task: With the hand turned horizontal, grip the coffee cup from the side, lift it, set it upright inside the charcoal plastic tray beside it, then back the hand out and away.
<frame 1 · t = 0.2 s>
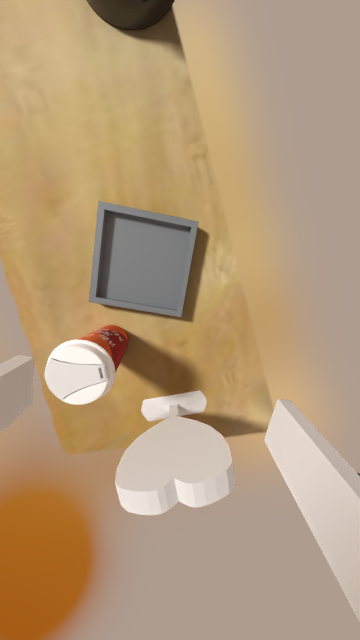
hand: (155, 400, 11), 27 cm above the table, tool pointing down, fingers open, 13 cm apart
coffee cup: (112, 340, 38), on the table
tray: (144, 264, 36), on the table
heart sculpture: (174, 405, 41), on the table
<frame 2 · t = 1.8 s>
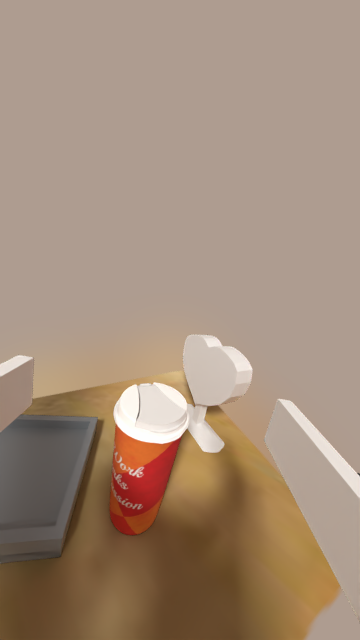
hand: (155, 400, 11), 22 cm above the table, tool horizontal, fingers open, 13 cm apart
coffee cup: (134, 507, 25), on the table
tray: (15, 476, 25), on the table
heart sculpture: (196, 425, 41), on the table
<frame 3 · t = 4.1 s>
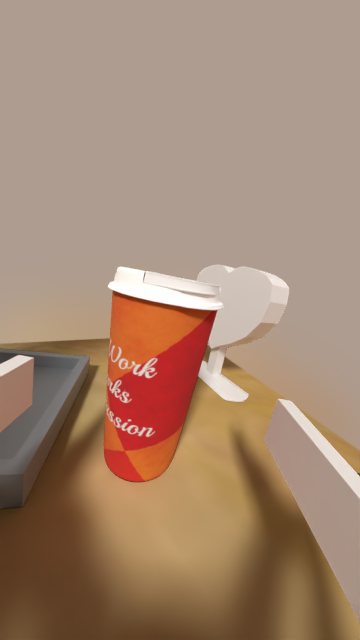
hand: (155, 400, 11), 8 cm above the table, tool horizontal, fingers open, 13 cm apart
coffee cup: (139, 450, 17), on the table
heart sculpture: (211, 377, 33), on the table
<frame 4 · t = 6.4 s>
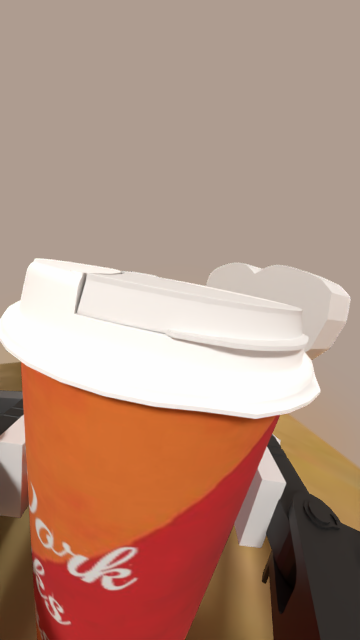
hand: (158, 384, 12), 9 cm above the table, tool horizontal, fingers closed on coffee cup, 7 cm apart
coffee cup: (117, 606, 9), on the table, touching gripper
heart sculpture: (227, 411, 25), on the table
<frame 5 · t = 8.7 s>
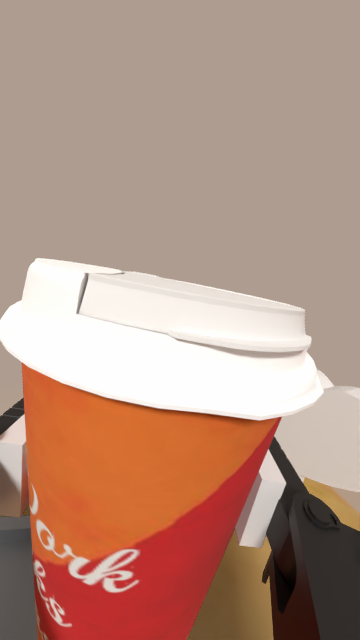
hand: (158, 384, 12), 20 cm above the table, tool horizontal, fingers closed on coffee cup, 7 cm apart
coffee cup: (118, 607, 9), point 11 cm above the table, touching gripper
heart sculpture: (285, 498, 27), on the table
when the fingers open (11 cm above the table, at t = 11.2 s): coffee cup drops 1 cm, resting on tray.
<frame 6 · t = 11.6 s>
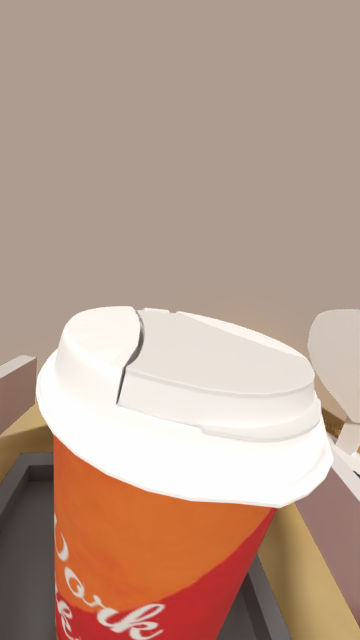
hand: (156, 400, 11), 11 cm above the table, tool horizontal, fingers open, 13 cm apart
coffee cup: (130, 632, 10), point 1 cm above the table, touching tray
tray: (112, 636, 10), on the table
heart sculpture: (342, 454, 25), on the table
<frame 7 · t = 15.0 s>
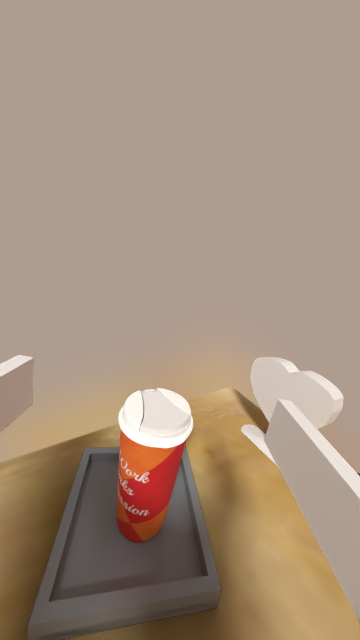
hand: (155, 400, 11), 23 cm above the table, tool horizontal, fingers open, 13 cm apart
coffee cup: (141, 514, 25), point 1 cm above the table, touching tray
tray: (134, 517, 25), on the table
heart sculpture: (270, 448, 41), on the table
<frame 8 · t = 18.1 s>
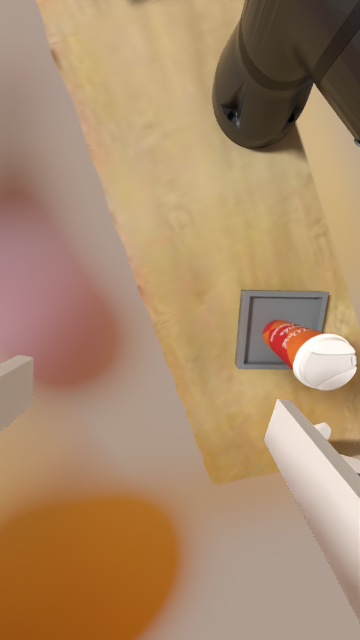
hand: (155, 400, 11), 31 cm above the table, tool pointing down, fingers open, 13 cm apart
coffee cup: (275, 333, 41), point 1 cm above the table, touching tray
tray: (275, 328, 42), on the table
heart sculpture: (302, 436, 48), on the table
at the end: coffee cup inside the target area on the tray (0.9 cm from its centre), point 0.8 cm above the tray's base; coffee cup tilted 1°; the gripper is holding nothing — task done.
